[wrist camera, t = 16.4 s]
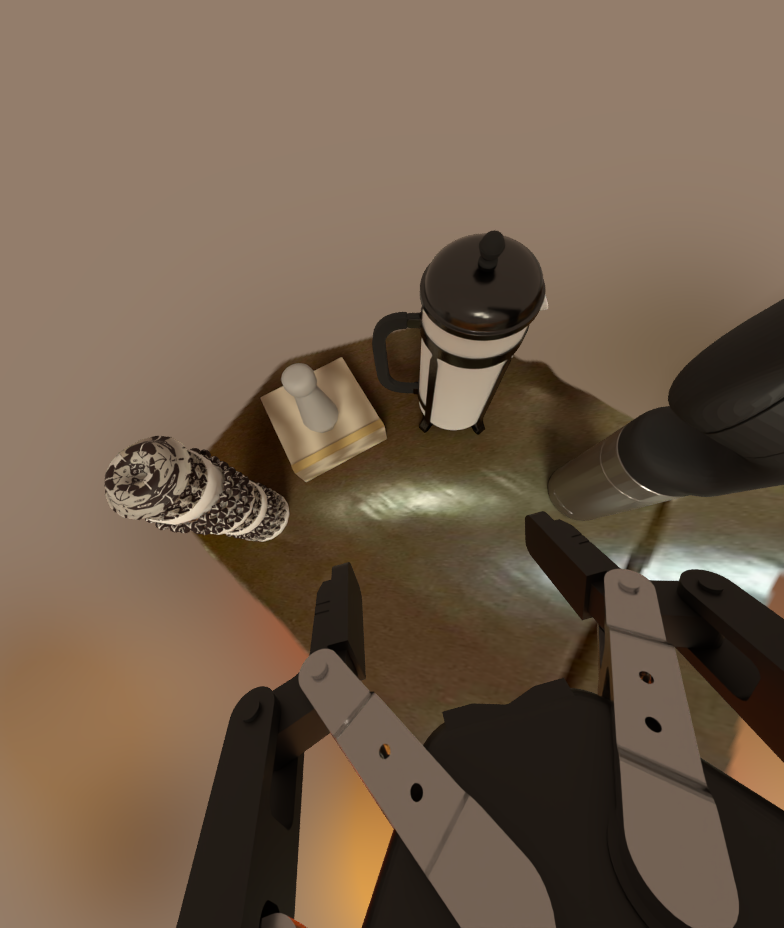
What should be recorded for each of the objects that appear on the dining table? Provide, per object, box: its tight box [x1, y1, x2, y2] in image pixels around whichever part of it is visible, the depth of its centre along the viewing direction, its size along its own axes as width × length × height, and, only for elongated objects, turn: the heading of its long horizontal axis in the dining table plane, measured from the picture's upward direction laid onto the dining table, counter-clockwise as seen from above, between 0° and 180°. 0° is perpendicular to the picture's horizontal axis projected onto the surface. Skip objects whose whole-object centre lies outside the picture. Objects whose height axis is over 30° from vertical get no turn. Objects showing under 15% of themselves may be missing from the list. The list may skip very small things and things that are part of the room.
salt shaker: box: [281, 363, 338, 433], centre depth 43 cm, size 6×6×13 cm
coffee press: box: [372, 231, 549, 434], centre depth 40 cm, size 17×16×30 cm
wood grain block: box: [260, 357, 387, 482], centre depth 52 cm, size 16×16×5 cm
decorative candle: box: [105, 436, 290, 541], centre depth 38 cm, size 9×9×25 cm
